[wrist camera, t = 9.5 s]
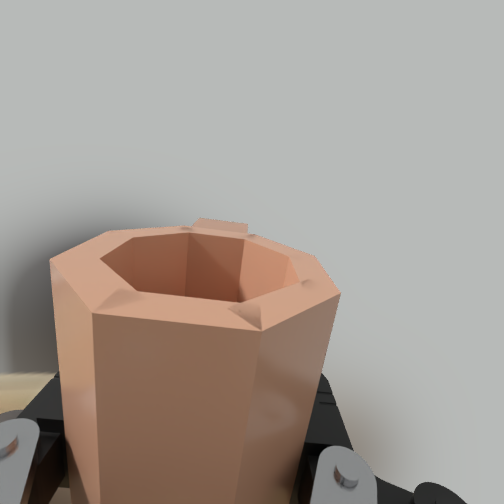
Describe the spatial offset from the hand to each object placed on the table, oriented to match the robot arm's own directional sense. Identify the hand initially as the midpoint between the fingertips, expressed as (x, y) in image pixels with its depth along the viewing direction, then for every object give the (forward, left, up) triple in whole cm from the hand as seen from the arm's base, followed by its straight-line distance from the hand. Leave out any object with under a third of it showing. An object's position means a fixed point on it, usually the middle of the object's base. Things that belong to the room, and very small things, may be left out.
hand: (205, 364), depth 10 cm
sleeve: (-1, -2, -6) cm, 7 cm away
